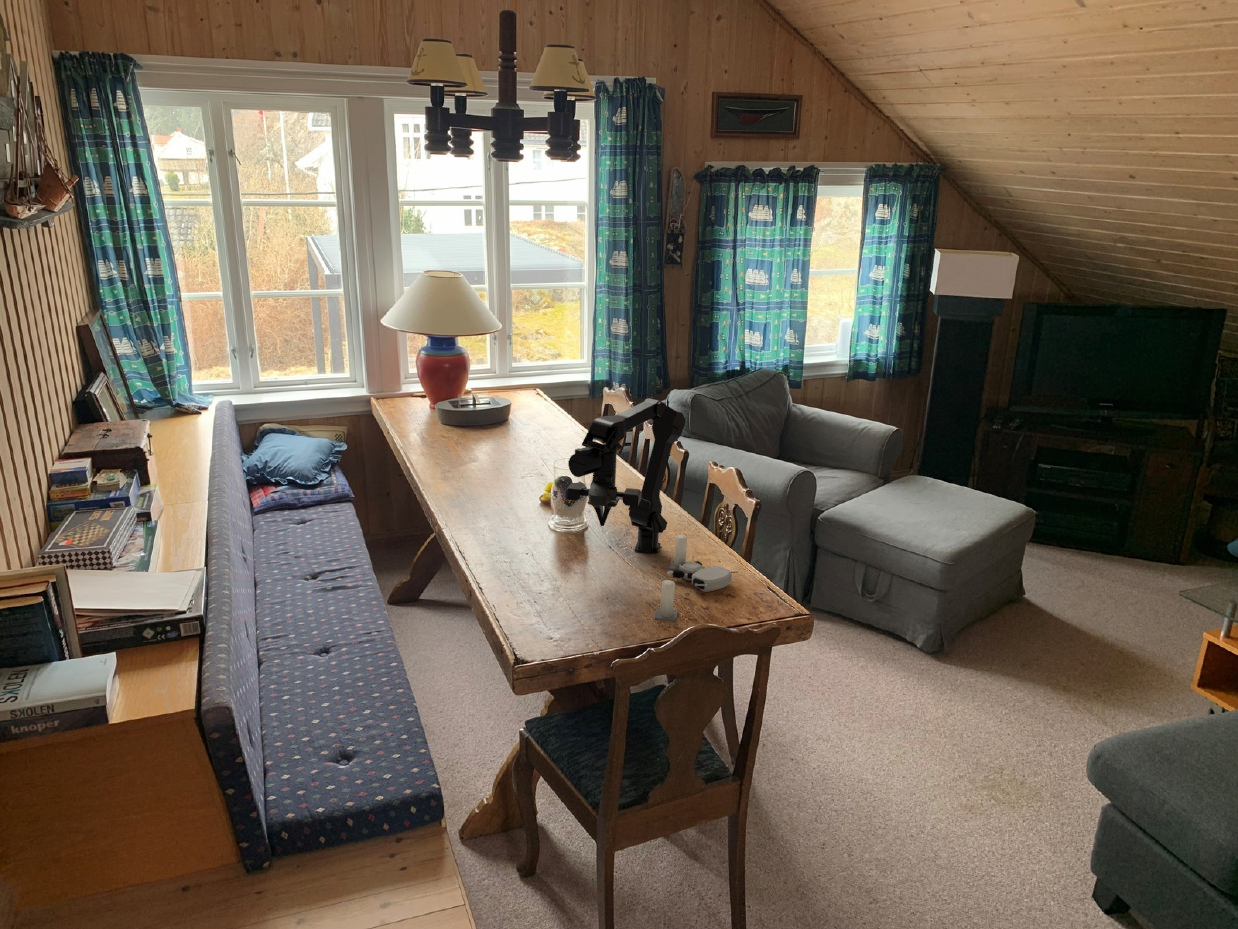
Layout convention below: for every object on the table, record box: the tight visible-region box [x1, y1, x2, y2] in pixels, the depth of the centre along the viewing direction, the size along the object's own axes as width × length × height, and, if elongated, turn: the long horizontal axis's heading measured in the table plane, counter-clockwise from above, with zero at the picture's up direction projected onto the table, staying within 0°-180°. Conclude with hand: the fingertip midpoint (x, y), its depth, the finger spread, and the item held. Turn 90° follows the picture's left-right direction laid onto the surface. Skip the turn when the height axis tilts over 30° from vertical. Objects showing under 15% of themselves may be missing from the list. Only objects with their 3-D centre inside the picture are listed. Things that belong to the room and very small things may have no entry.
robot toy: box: [666, 560, 739, 593], centre depth 226 cm, size 12×4×15 cm
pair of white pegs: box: [653, 534, 689, 623], centre depth 221 cm, size 33×5×9 cm, turn 170°
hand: (602, 525), depth 229 cm, fingers closed
